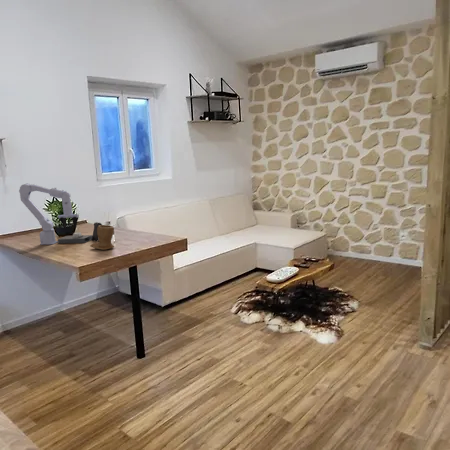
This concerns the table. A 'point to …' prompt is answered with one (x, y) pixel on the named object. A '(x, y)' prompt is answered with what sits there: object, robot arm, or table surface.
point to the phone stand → (95, 232)
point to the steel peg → (77, 235)
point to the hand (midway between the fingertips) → (70, 227)
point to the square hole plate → (75, 239)
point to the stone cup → (104, 237)
